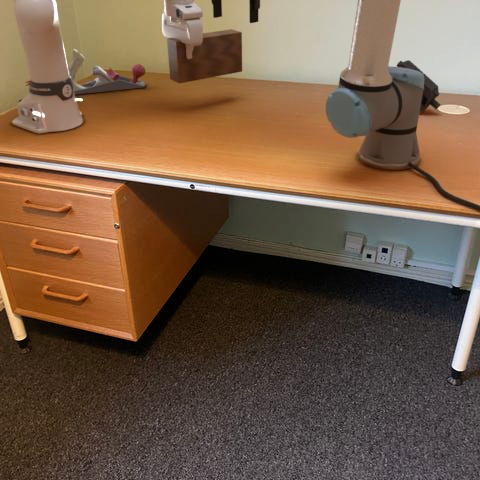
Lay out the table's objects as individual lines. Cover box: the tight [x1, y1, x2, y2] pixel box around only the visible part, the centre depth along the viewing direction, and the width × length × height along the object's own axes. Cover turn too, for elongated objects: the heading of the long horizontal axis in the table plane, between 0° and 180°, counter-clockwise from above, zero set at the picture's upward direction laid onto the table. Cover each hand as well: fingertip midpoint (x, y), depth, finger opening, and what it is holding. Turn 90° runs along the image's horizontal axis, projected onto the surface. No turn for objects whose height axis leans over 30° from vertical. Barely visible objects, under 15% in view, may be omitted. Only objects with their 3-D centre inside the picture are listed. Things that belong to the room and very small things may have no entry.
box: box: [166, 28, 243, 84], centre depth 171 cm, size 24×6×12 cm, turn 123°
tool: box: [396, 59, 442, 114], centre depth 170 cm, size 6×19×15 cm, turn 51°
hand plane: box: [68, 48, 146, 95], centre depth 194 cm, size 7×31×15 cm, turn 107°
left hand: (183, 56), depth 167 cm, fingers closed on box, 6 cm apart
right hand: (235, 19), depth 146 cm, fingers open, 13 cm apart
